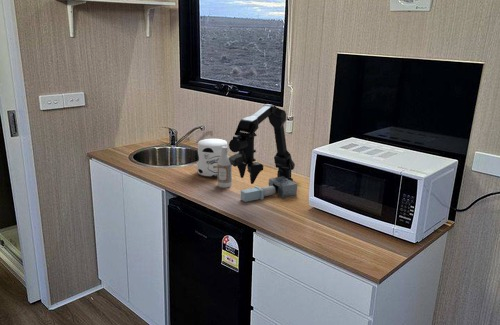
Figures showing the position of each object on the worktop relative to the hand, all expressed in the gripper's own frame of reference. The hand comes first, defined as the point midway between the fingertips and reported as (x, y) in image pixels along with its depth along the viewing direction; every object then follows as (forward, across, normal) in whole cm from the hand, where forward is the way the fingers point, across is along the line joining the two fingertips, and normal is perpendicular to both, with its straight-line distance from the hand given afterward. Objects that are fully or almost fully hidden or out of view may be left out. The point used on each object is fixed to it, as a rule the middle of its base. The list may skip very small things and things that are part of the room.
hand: (247, 180), depth 197 cm
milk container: (+10, -40, +2) cm, 41 cm away
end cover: (+9, 0, +6) cm, 11 cm away
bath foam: (+10, -22, 0) cm, 24 cm away
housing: (+9, 0, +20) cm, 22 cm away
